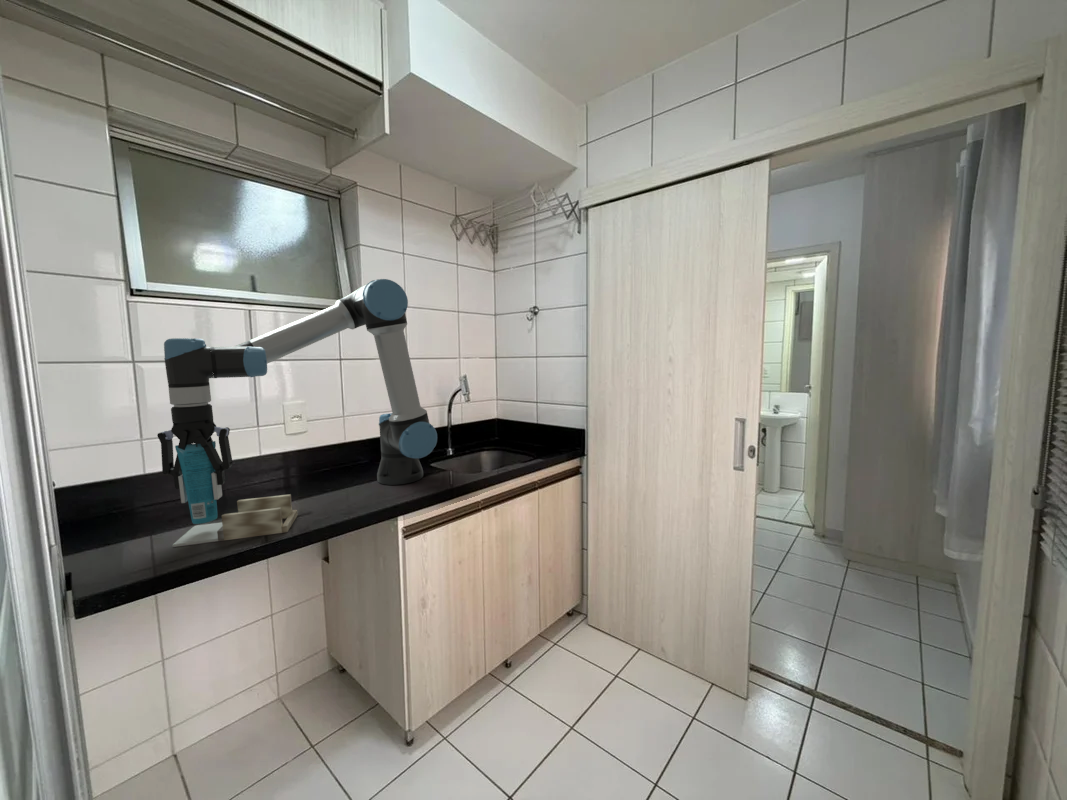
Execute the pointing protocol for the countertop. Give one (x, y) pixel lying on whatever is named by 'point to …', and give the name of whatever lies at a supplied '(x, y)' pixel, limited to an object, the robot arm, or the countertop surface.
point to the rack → (258, 518)
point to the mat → (200, 535)
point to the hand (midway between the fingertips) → (202, 499)
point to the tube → (198, 482)
